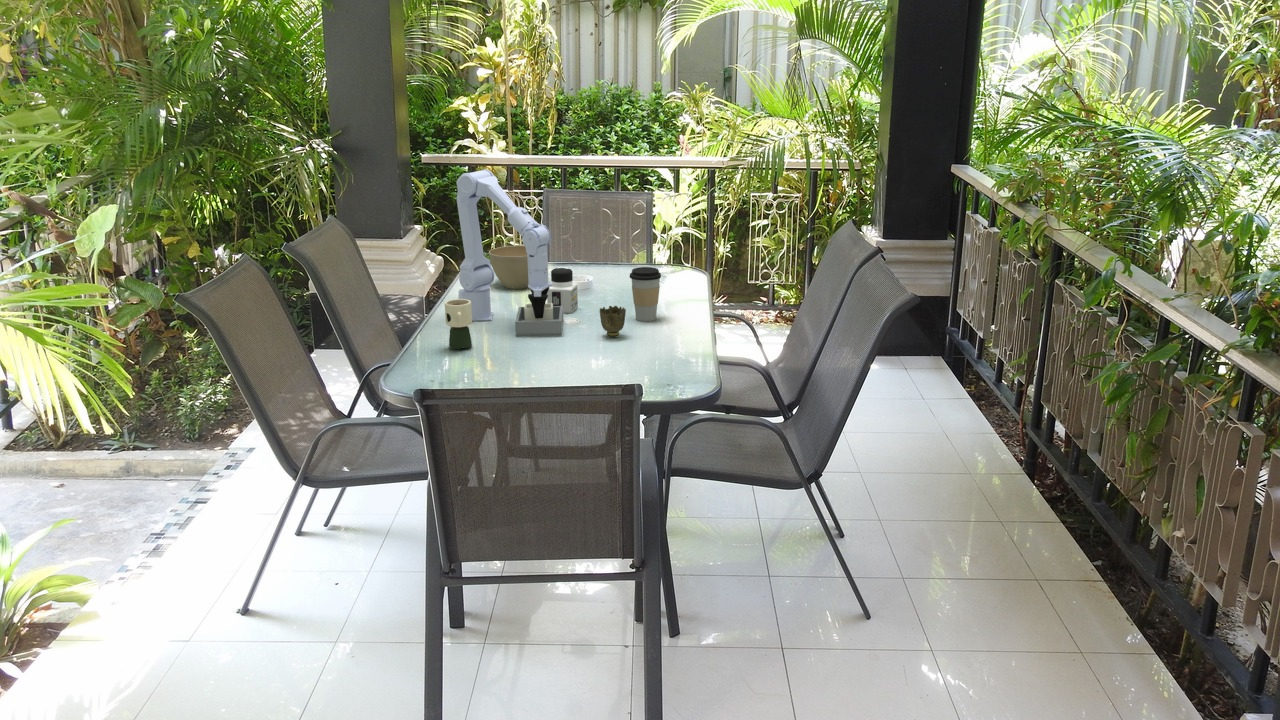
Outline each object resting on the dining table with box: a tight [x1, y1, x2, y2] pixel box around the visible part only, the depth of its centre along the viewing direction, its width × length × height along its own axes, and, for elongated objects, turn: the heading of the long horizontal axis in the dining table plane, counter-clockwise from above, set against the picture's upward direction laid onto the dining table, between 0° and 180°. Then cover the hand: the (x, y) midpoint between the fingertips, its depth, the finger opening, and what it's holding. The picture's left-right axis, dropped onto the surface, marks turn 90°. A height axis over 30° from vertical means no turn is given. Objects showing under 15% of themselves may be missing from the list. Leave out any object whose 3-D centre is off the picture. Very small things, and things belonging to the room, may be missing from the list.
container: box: [546, 267, 579, 314], centre depth 328 cm, size 8×8×13 cm
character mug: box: [444, 298, 473, 350], centre depth 292 cm, size 11×7×13 cm, turn 13°
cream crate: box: [524, 302, 553, 321], centre depth 309 cm, size 8×5×6 cm
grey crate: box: [514, 306, 564, 338], centre depth 310 cm, size 13×16×4 cm
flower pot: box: [488, 245, 529, 290], centre depth 357 cm, size 18×18×12 cm
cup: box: [599, 305, 627, 338], centre depth 301 cm, size 8×7×8 cm
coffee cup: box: [629, 266, 662, 323], centre depth 317 cm, size 9×9×15 cm
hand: (539, 314), depth 309 cm, fingers open, 7 cm apart
